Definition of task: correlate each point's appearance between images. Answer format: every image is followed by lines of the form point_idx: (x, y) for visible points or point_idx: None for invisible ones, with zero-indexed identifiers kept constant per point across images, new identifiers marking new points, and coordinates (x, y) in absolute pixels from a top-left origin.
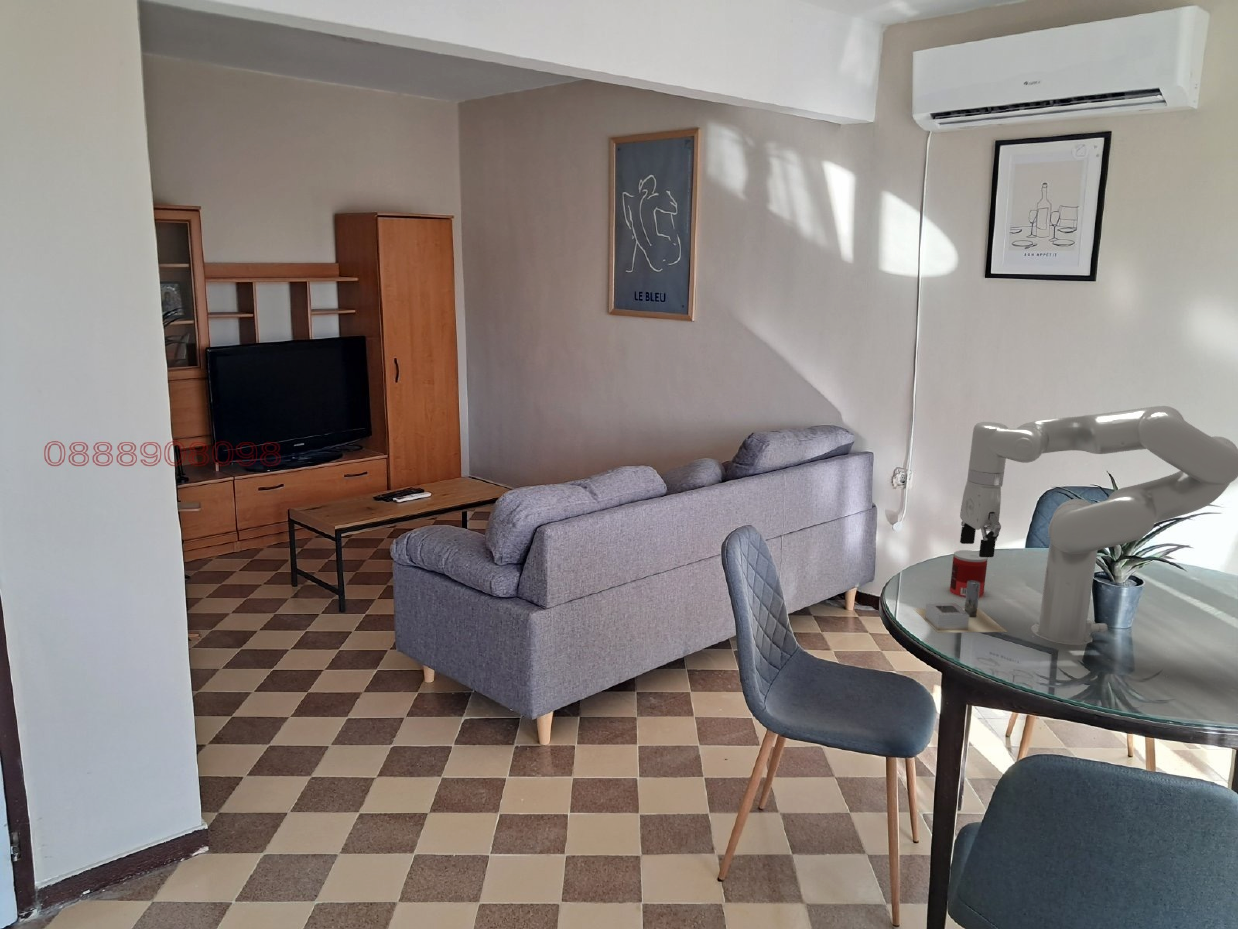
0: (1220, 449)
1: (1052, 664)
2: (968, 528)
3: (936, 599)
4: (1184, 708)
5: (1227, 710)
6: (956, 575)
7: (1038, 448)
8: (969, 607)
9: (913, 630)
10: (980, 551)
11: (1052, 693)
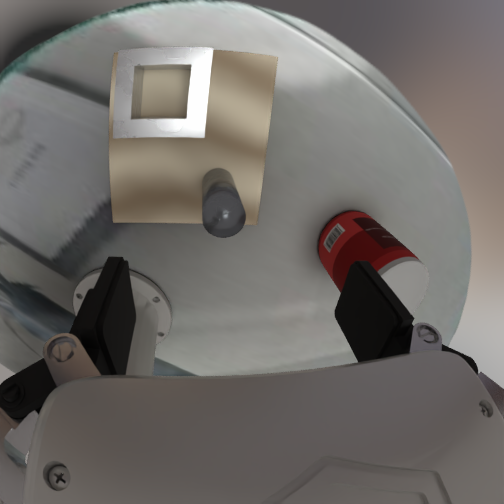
0: None
1: (14, 240)
2: (381, 344)
3: (351, 169)
4: None
5: None
6: (371, 235)
7: None
8: (206, 179)
9: (169, 15)
10: (102, 273)
11: None
